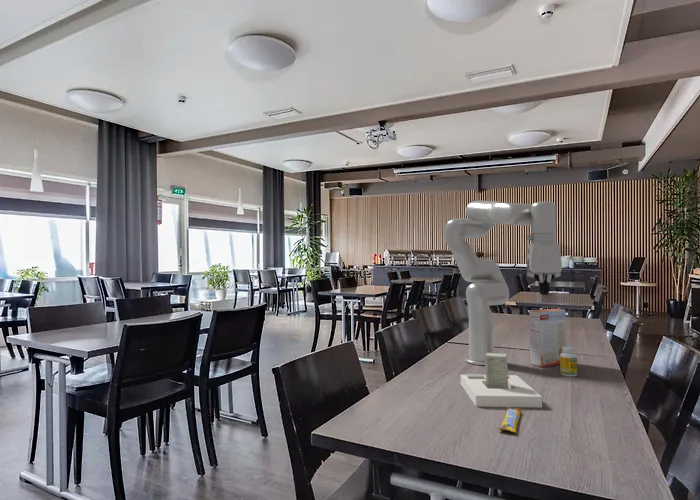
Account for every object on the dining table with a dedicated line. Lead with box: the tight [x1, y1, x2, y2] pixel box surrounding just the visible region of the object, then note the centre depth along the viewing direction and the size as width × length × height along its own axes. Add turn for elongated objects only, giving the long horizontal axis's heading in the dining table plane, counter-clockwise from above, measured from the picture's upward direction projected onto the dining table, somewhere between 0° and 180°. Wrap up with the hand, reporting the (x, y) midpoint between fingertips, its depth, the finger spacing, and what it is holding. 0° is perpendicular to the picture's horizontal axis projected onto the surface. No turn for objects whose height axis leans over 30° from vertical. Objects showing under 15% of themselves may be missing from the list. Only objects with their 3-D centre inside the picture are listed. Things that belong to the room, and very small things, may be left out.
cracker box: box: [528, 308, 567, 368], centre depth 173 cm, size 14×6×21 cm, turn 115°
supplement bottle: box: [559, 346, 578, 378], centre depth 156 cm, size 5×5×10 cm
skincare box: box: [484, 352, 509, 389], centre depth 134 cm, size 6×4×12 cm
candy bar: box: [497, 407, 523, 434], centre depth 112 cm, size 17×4×2 cm, turn 154°
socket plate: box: [460, 373, 543, 408], centre depth 134 cm, size 22×18×4 cm
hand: (543, 294), depth 148 cm, fingers closed
